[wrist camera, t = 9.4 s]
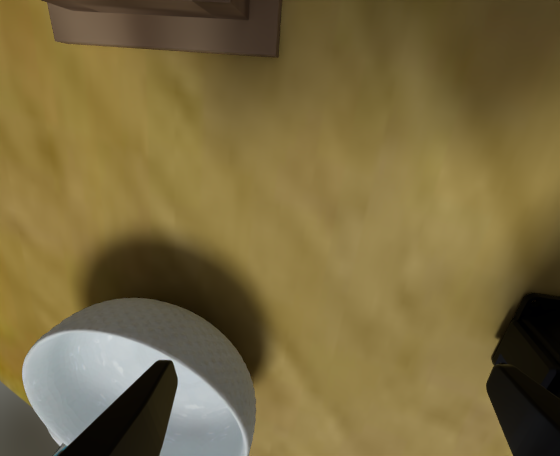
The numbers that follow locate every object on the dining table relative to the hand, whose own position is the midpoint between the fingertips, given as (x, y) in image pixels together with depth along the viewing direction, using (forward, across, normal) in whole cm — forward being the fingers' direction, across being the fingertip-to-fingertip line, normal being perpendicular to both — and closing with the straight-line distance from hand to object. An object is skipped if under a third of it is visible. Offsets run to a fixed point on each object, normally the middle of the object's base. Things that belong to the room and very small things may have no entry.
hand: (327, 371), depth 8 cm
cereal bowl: (+13, +12, +14) cm, 22 cm away
